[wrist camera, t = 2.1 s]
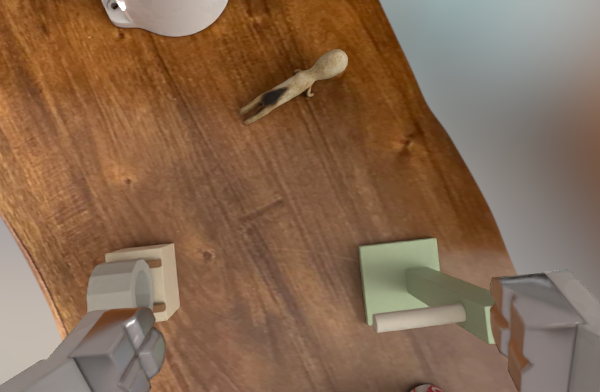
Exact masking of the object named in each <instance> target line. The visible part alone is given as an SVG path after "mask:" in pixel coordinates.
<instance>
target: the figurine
mask: <svg viewBox="0 0 600 392" xmlns="http://www.w3.org/2000/svg"><path fill="white" fill-rule="evenodd" d="M347 64H348V58H347V55H346V54H345V52H343V51H342V50H340V49H334V50H331V51H329V52H327V53H326V54H324V55H323V56H322V57H320V58H319V59H318V60H317V61H316V63H315V64H314V66H313V67H312V68H311V69H308V70H305V71H302V70H300V69H296V70H294V72H293V74H294V76H292V77H291V78H289V79H288V80H286V81H285V82H283V83H281V84H280V85H278V86H276V87H274V88H273V89H271V90H269V91H266V92H264V93H263V94H261V95H260V96H258V97H257V98H255V99H254V100H253V101H252V102H250V103H249V104H248V105H246V106H245V107H243V108H241V109H240V110H239V114H240V115H241V116H242V115H244V114H245V113H247V112H248V111H250V110H252V109H253V108H255V107H257V106H260V105H262V104H263V105H264V106H263V107H262V108H261V109H260V110H259V111H258V112H257V113H255V114H254V115H252V116H250V117H249V118H247V119H245V120H244V123H245V124H246V125H249V124H251V123H253V122H255V121H256V120H258V119H260V118H261V117H263V116H265V115H267V114H268V113H269V112H271V111H272V110H273V109H275V108H276V107H278V106H280V105H281V104H283V103H285V102H287V101H289V100H290V99H292V98H294V97H295V96H297V95H299V94H301V93H302V92H304V91H305V95H306V96H309V97H312V96H314V93H313V92H311V86H312V84H313V83H314V82H315V81H316V80H320V79H328V78H331V77H334V76H336V75H338V74H340V73H341V72H342V71H343V70H344V69H345V68H346V66H347Z"/></svg>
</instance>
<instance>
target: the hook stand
mask: <svg viewBox="0 0 600 392" xmlns="http://www.w3.org/2000/svg"><path fill="white" fill-rule="evenodd" d="M358 252H359V262H360V271H361V280H362V290H363V299H364V308H365V317H366V324H367V325H368V326H372V325H373V326H374V330H375V332H376V333H380V332H388V331H395V330H403V329H411V328H418V327H426V326H434V325H442V324H449V323H456V324H458V325H459V326H461V327H462V328H464V329H466V330H467V331H469V332H470V333H472V334H474V335H475V336H477V337H478V338H480V339H481V340H483V341H485V342H486V343H488V344H493V343H495V341H494V338H493V335H492V330H491V324H490V308H491V307H492V306H493V305H494V303H495V301H494V299H493V297H492V296H491V294H490V291H489V290H486V289H484V288H481V287H478V286H476V285H473V284H471V283H468V282H465V281H463V280H460V279H458V278H455V277H452V276H450V275H447V274H445V273H442V272H440V268H439V259H438V250H437V241H436V238H424V239H415V240H406V241H397V242H388V243H380V244H371V245H362V246H358Z"/></svg>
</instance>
